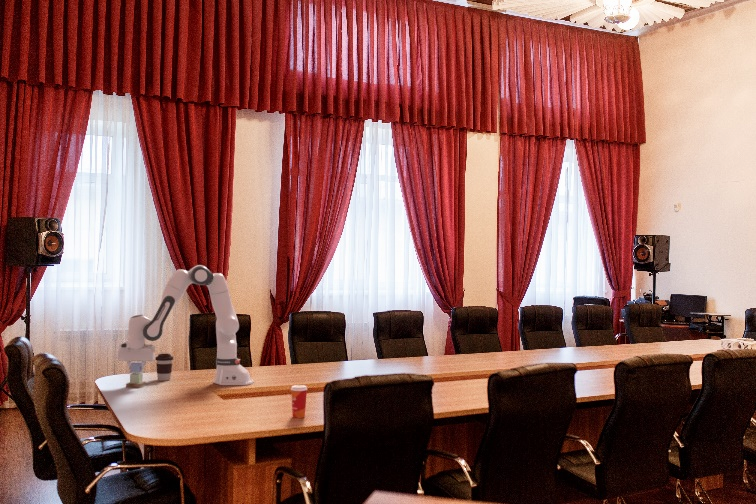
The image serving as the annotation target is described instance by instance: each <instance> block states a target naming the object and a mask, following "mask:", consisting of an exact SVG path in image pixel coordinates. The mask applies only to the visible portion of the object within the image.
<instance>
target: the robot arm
mask: <svg viewBox="0 0 756 504" xmlns="http://www.w3.org/2000/svg"><path fill="white" fill-rule="evenodd" d="M191 284H195V285H199V286H206V287H207V289H208V291H209V292H208V293H209V297H210V301H211V306H212V308H213V311H214V313H215V317H216V321H215V334H216V344H217V345H216V351H217V352H216V358H215V368H216V372H215V377H214V381H213V384H217V385H220V386H246V385H247V386H248V385H251V384H253V383H254V382H255V381H254V379H253V378H251V377H250V372H249V370H248V369H247V368H246V367H244V366H243V365H242V364H241V358H238V357H237V355H238V354H237V352H238V349H237V347H238V343H237V335H236V333H237V332H238V331H239V329H240V323H239V320H238V316H237V314H236V309H235V307H234V304H233V301H232V297H231V294H230V293H231V292H230V290H229V289H230V288H229V286H228V283H227V280H226V278H225V276H224V275H223V273H220V272H219V273H218V272H215V273H212V271H210V269H208V268H207V267H206V266H205V265H202V264H198V265H195V266H192V267H191V268H190V269H188V270H186V269H181V268H179V269H177V270H175V271H174V273H173V274H172V275H171V277H170V278H169V280H168V281H167V282H166V285H165V287H164V289H163V291H162V295H161V301H160V304H159V307H158V309H157V311H156V313H155V314H154V317H153V318H152V319H151V318H149V317H147V316H145V315H144V314H137V315H133V316H131V317H130V318H129V322H128V341H127V340H126V341H125V342H122V343H120V344H119V349H118V351H117V360H118V361H120V362H121V361H122V362H126V363H127V365H128V369H129V370H130V363H132V362H142V363H143V365H142V366H140V369H143V370H144V369H145V365H146V363H147V362H154V361H156V353H155V351H156V347H155V345H153V344H146V340H147V341H149V342H154V341H155V342H156V341H157V340H159V339H160V338H161V337H162V335H163V327H164V324H165V322H166V319H167V318H168V316H169V314H170V313H171V311H172V310H173V309H174V307H176V305H177V304H178V303H179V302H180V301H181V300H182V298H183V296H184V295H185V293H186V292H187V290H188V287H189V286H190V285H191Z"/></svg>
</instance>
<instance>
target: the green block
mask: <svg viewBox="0 0 756 504" xmlns="http://www.w3.org/2000/svg"><path fill="white" fill-rule="evenodd" d="M129 382H130V383H133V384H139V383H141V382H143V372H140V373H131V374H129Z"/></svg>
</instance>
